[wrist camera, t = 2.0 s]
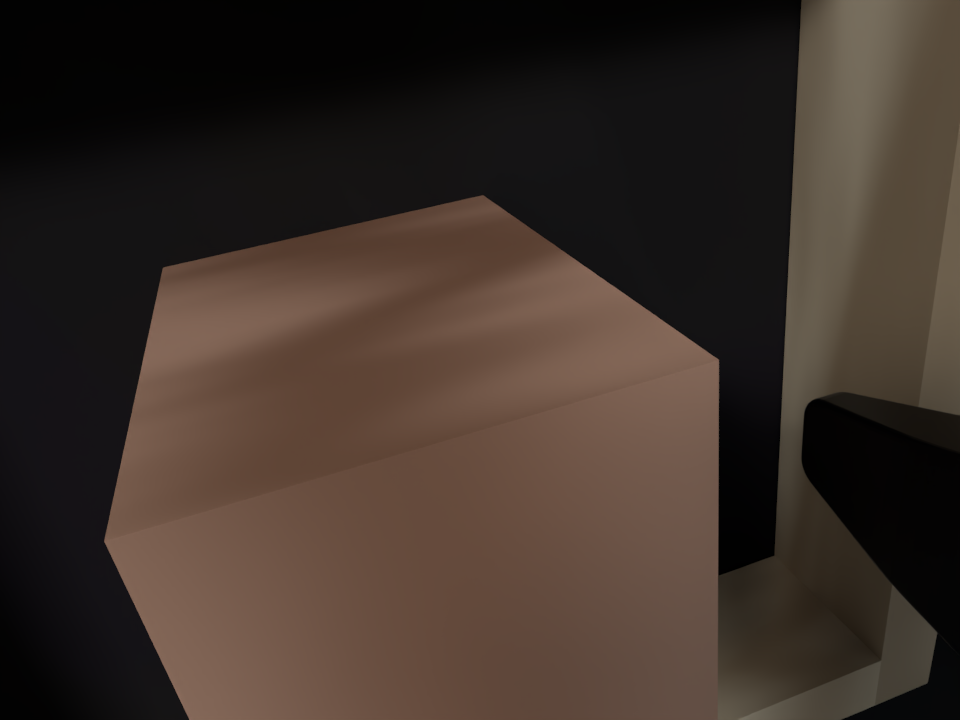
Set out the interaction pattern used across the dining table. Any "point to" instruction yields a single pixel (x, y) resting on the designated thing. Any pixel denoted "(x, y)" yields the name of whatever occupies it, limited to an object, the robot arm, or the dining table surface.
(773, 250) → the dining table surface
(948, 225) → the pine frame
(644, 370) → the terracotta block
